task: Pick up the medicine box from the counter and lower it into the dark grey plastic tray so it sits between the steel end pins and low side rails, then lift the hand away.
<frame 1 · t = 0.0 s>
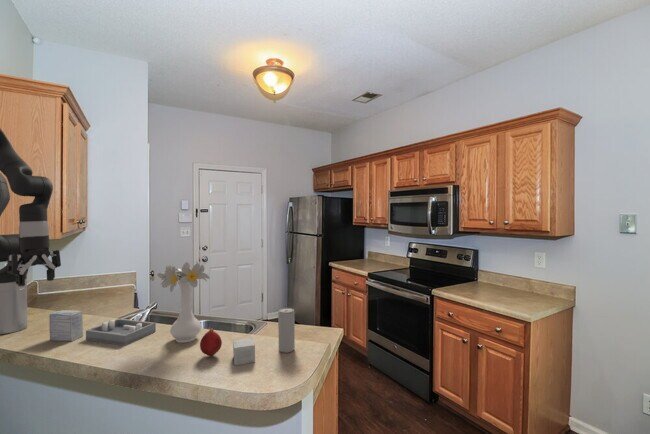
hand: (36, 283, 108), 17 cm above the countertop, tool pointing down, fingers open, 8 cm apart
beverage can: (286, 350, 96), on the countertop
small box: (244, 360, 90), on the countertop
onion: (211, 357, 92), on the countertop
flower vase: (183, 340, 104), on the countertop
medicine box: (66, 339, 105), on the countertop
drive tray: (121, 335, 107), on the countertop
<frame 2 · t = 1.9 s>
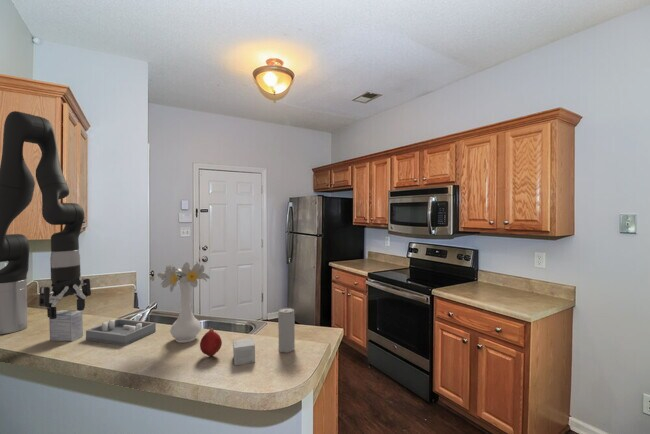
hand: (67, 314, 104), 8 cm above the countertop, tool pointing down, fingers open, 8 cm apart
nothing on the countertop moved.
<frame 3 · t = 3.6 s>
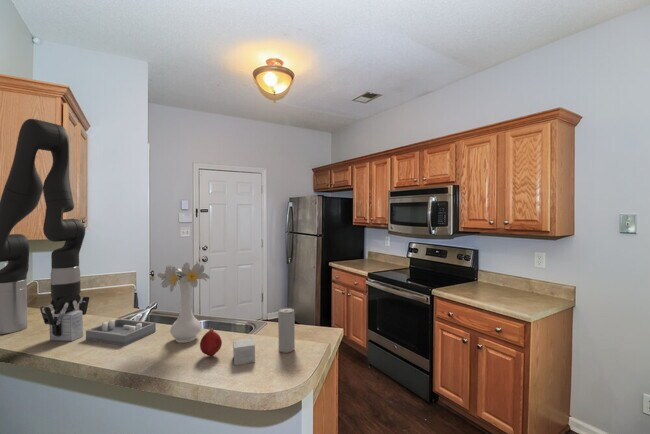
hand: (66, 332, 105), 2 cm above the countertop, tool pointing down, fingers closed on medicine box, 5 cm apart
medicine box: (66, 339, 105), on the countertop, touching gripper
everything else where it was.
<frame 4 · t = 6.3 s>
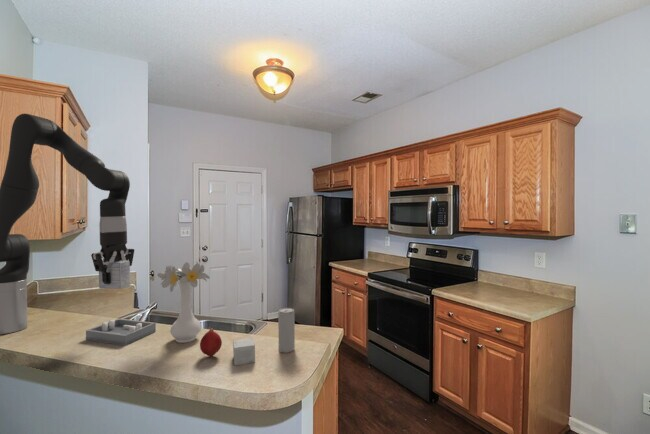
hand: (114, 281, 106), 18 cm above the countertop, tool pointing down, fingers closed on medicine box, 5 cm apart
medicine box: (115, 288, 106), point 16 cm above the countertop, touching gripper
everything else where it was.
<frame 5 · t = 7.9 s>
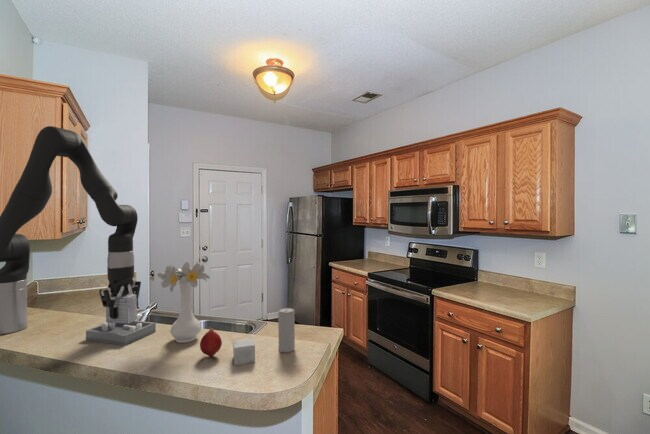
hand: (121, 315, 107), 7 cm above the countertop, tool pointing down, fingers closed on medicine box, 5 cm apart
medicine box: (121, 322, 107), point 5 cm above the countertop, touching gripper
everything else where it was.
when the fingers open (4 cm above the countertop, at t = 9.1 s): medicine box drops 1 cm, resting on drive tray.
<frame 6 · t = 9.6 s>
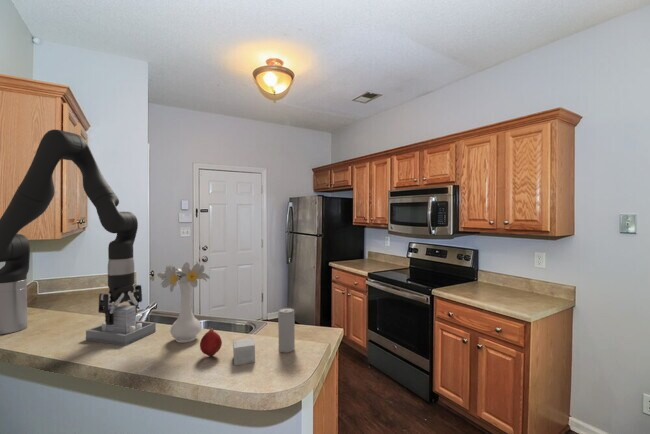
hand: (121, 320, 107), 5 cm above the countertop, tool pointing down, fingers open, 8 cm apart
medicine box: (121, 333, 107), point 1 cm above the countertop, touching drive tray
everything else where it was.
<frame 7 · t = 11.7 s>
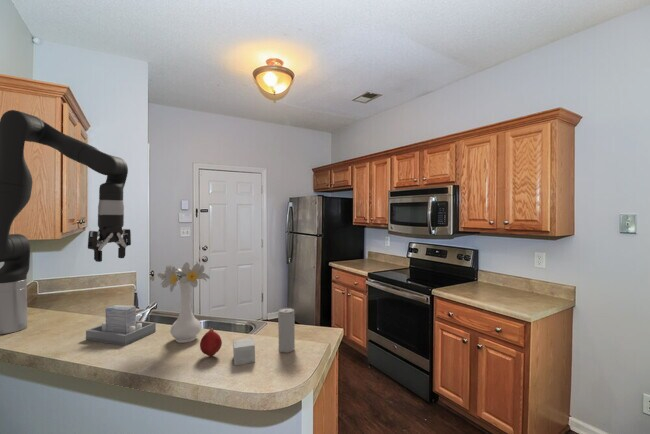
hand: (110, 259, 112), 24 cm above the countertop, tool pointing down, fingers open, 8 cm apart
nothing on the countertop moved.
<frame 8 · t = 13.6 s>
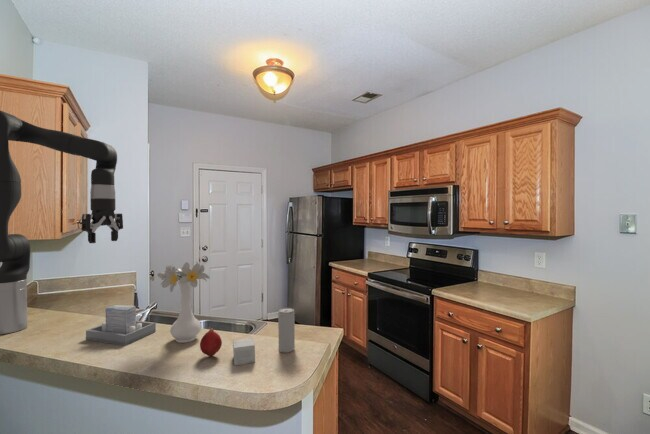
hand: (103, 242, 118), 30 cm above the countertop, tool pointing down, fingers open, 8 cm apart
nothing on the countertop moved.
at the end: medicine box 0.2 cm off-centre on the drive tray, point 0.8 cm above the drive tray's base; medicine box tilted 0°; the gripper is holding nothing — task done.
